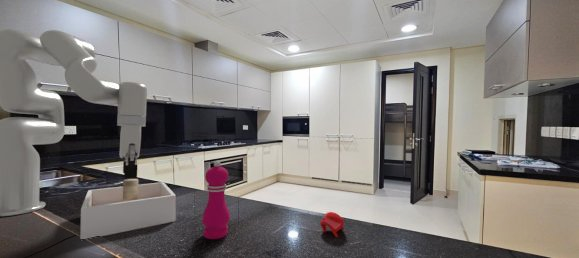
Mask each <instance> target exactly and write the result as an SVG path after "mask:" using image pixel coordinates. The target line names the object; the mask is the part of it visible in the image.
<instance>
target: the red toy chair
mask: <svg viewBox="0 0 579 258" xmlns="http://www.w3.org/2000/svg"><path fill="white" fill-rule="evenodd" d="M344 220H345V219H344V218H343V217H341V215H339V214H338V213H337V212H332V211H329V212H326V213H325V214H324V216H323V217H322V219H321V220H320V224H319V225H320V226H321V229H322V231H323V233H326V232H327V229H326V228H329V229H330V231H331V232H332V233H333V236H334V237H335V238H338V237H339V235H338V233H337V232H339V231H344V223H345V221H344Z"/></svg>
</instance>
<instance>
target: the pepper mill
mask: <svg viewBox="0 0 579 258" xmlns="http://www.w3.org/2000/svg"><path fill="white" fill-rule="evenodd" d="M221 164H222V163H221V162H220V161H219V160H216V161H214V162H213V166H211V167H210V168H209V169H207V171H206V173H205V175H204V177H205V181H206V182H207V185H206V187H207V189H206V190H207V192H208V201H207V203H206V206H205V209H204V211H203V214H202V218H201V222H202V224H203V226H204V228H203V237H204V238H206V239H208V240H219V239H223V238H224V237H226V236H227V235H228V233H229V227H228V223H229V222H230V220H231V214H230V209H229V208H228V205H227V201H226V198H225V191H226V190H227V184H226V182H228V179H229V171H228V169H226V168H225V167H222V166H221Z"/></svg>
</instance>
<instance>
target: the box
mask: <svg viewBox="0 0 579 258" xmlns="http://www.w3.org/2000/svg"><path fill="white" fill-rule="evenodd" d="M176 199H177V195H176V194H175V193H174V192H173V190H172V189H170V187H168V185H167V184H166V183H165V182H164V181H161V182H153V183H143V184H142V183H141V184H138V200H133V201H126V202H123V186H117V187H114V186H113V187H105V188H97V189H88V191H87V193H86V195H85V198H84V200H83V202H82V205H81V208H80V235H79V237H80V238H79V239H86V238H90V237H95V236H100V237H103V236H104V237H105V236H111V235H114V234H120V233H124V232H129V231H134V230H140V229H144V228H148V227H154V226H158V225H162V224H163V225H164V224H169V223H173V222H176V217H177V216H176V209H177V206H176V205H177V202H176V201H177V200H176ZM95 238H96V237H95ZM90 239H91V238H90ZM86 240H87V239H86Z"/></svg>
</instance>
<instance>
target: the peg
mask: <svg viewBox="0 0 579 258" xmlns="http://www.w3.org/2000/svg"><path fill="white" fill-rule="evenodd" d="M138 185H139V178H129V179H124V180H123V181H122V187H123V202H126V201H133V200H138Z"/></svg>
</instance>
